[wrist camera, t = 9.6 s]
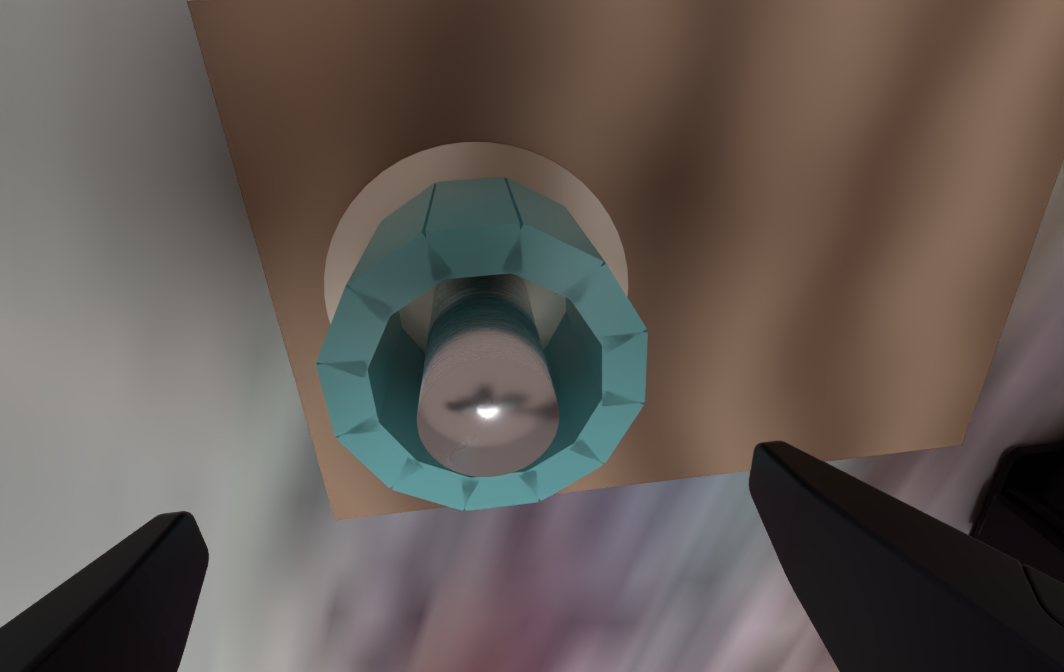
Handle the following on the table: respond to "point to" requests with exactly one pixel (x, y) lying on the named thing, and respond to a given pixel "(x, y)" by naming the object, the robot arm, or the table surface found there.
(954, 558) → the robot arm
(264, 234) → the base board
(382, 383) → the collar
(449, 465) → the steel pin
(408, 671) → the table surface
